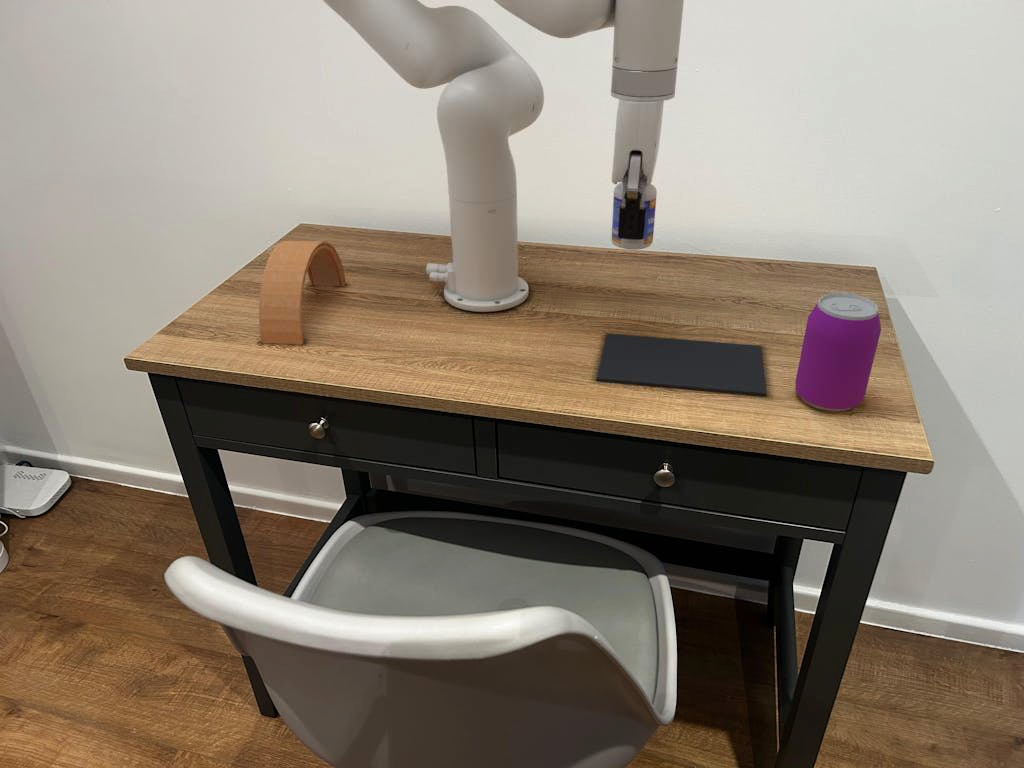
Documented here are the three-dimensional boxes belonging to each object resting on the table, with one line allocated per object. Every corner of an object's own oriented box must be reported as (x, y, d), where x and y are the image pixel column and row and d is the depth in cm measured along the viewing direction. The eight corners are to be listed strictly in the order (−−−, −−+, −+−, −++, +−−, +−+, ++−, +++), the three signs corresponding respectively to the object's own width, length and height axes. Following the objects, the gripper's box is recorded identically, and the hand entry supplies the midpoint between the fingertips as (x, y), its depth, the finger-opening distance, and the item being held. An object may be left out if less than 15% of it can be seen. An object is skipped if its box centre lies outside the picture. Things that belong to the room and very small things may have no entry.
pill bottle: (655, 250, 102) (662, 175, 97) (612, 250, 102) (617, 175, 97) (649, 235, 107) (655, 162, 102) (608, 235, 107) (613, 162, 102)
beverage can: (855, 383, 97) (877, 291, 91) (868, 417, 90) (893, 322, 84) (789, 378, 98) (806, 288, 92) (798, 412, 91) (817, 318, 85)
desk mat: (596, 380, 98) (596, 378, 98) (606, 335, 108) (606, 333, 108) (766, 396, 95) (766, 393, 94) (760, 348, 105) (760, 345, 104)
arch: (347, 283, 124) (339, 221, 119) (301, 344, 107) (290, 275, 102) (311, 282, 125) (301, 220, 120) (260, 342, 108) (246, 273, 103)
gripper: (617, 68, 102) (609, 206, 112) (604, 96, 88) (596, 252, 97) (677, 69, 101) (664, 209, 110) (673, 99, 86) (658, 256, 96)
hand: (632, 228), depth 104 cm, fingers closed on pill bottle, 5 cm apart
